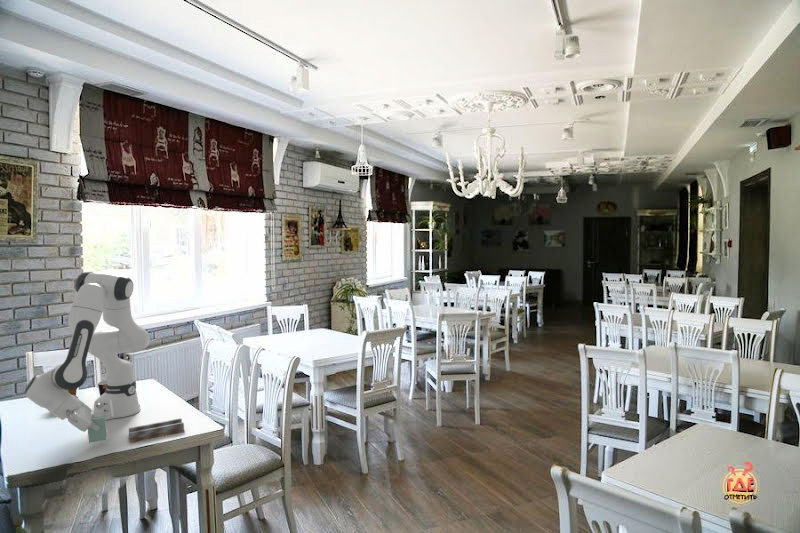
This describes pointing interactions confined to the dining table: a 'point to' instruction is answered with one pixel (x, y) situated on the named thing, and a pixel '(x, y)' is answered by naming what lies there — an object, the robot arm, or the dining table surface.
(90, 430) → the green rectangular box
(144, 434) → the rail
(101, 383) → the coffee mug
